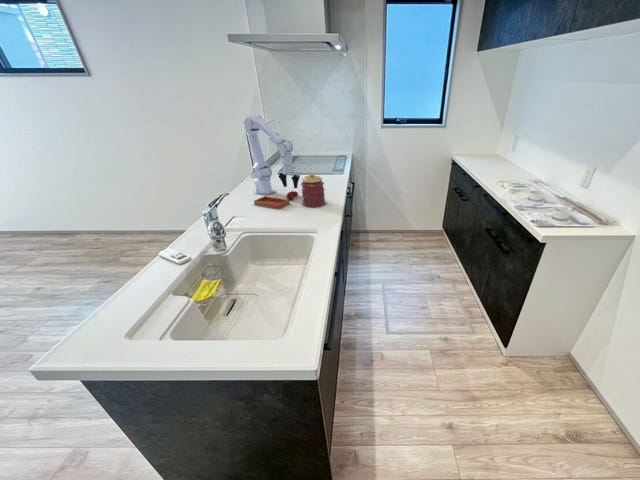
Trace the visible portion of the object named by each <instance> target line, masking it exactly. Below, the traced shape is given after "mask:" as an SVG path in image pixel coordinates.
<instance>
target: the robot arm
mask: <svg viewBox="0 0 640 480" xmlns="http://www.w3.org/2000/svg"><path fill="white" fill-rule="evenodd" d="M243 126H244V129H245V133H246V137H247V139H248V142H249V146H250V148H251V149H250V150H251V152H252V155H253V159H254V162H255V164H254V166H253V176H254V177H255V180H254V186H255V191H256V192H255V194H260V195H264V196H268V195H270V194H273V193H275V192H276V190H273V189H272V182H271V178H272V175H273V170H272V169H271V167H270V165H269V163H268V162H266V161H265V158H264V154H263V151H262V147H261V145H260V140H259V136H258V134H259V131H262V132H263V133H264V134H265V135H267V136H268V137H269V140H270V141H271V142H272V144H274V145H275V146H276V147H277V150H278V152H279V155H280V157H281V163H282V164H281V165H282V169H279V170H277V175H278V179H279V180H280V181H281V184H282V185H283V187H284V188H287V187H288V182H287V176H291V177H290V178H291V180H292V184H293V189H294V190H295V189H298V185H299V180H300V178H301V172H299V171H295V170H294V165H293V164H294V163H293V158H292V155H293V154H292V151H293V150H294V149H293V147H294V146H293V143H292V142H291V141H290V140H286V139H285V138H284V137H283V136H281V135H280V133H279V132H278V131H273V130H272V129H271V128H270V127H269V125H268V124H267V123H266V122H265V119H264V118H263V117H262V116H261V115H255V116H253V115H252V116H245V117H244V119H243Z"/></svg>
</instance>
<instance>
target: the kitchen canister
mask: <svg viewBox="0 0 640 480" xmlns="http://www.w3.org/2000/svg"><path fill="white" fill-rule="evenodd" d="M301 181H302V182H301V183H300V185H301V194H302V203H303V205H304V206H305V207H307V208H318V207H322V206H324V205H325V204H326V196H325V187H324V185H325V182H324V181H323V178H322V177H320V175H315V174H314V173H313V172H310V173H309V175H306V176H304V177H302V179H301Z"/></svg>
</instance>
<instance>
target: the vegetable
mask: <svg viewBox="0 0 640 480" xmlns="http://www.w3.org/2000/svg"><path fill="white" fill-rule="evenodd" d="M297 196H299V193H298V191H295V190H293V191H292V190H291V191H288V192H287V193H286V199H287V200H289V201H292V200H293V198H294V197H297Z"/></svg>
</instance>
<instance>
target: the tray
mask: <svg viewBox="0 0 640 480" xmlns="http://www.w3.org/2000/svg"><path fill="white" fill-rule="evenodd" d="M253 204H254V206H260V207H266V208H272V209H276V210H277V209H278V210H280V209H283V208H284V207H286V206H288V205H290V200H288V199H287V198H286V199H285V198H279V197H273V196H268V195H264V196H262V197H259V198H257V199H255V200H253Z"/></svg>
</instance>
